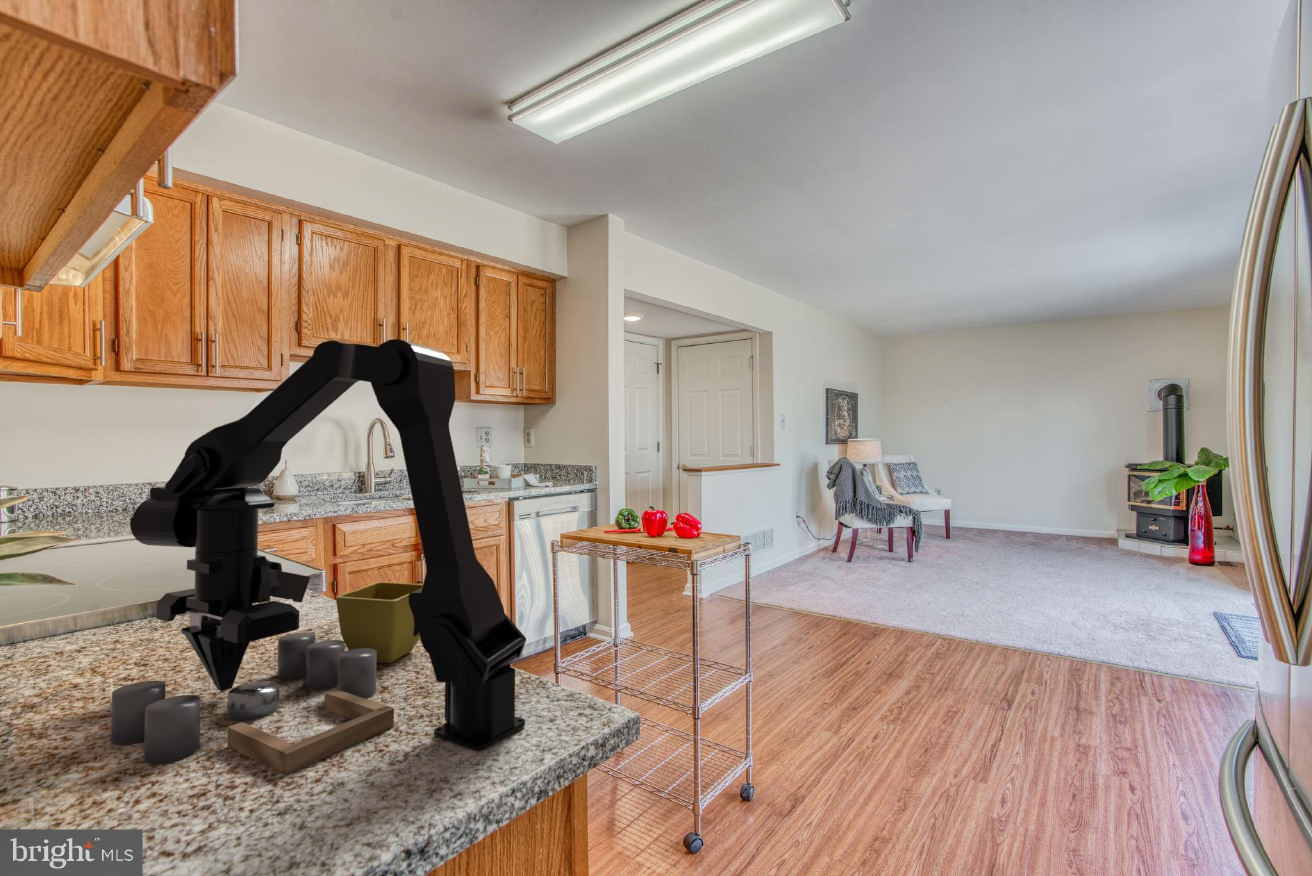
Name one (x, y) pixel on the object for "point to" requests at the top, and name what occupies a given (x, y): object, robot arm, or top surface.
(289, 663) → the spacers
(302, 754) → the corral
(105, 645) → the top surface
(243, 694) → the grey metallic short cylinder
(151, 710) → the spacers
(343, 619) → the flower pot
